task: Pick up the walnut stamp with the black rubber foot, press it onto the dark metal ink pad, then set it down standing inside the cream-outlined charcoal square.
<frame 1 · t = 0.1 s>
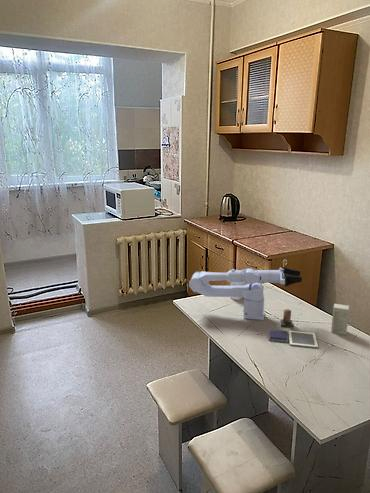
hand: (300, 276, 167), 22 cm above the table, tool horizontal, fingers open, 7 cm apart
skincare box: (338, 332, 163), on the table
ink pad: (278, 337, 158), on the table
marked square: (302, 339, 156), on the table
stamp: (286, 324, 169), on the table
ink cartridge box: (237, 297, 198), on the table
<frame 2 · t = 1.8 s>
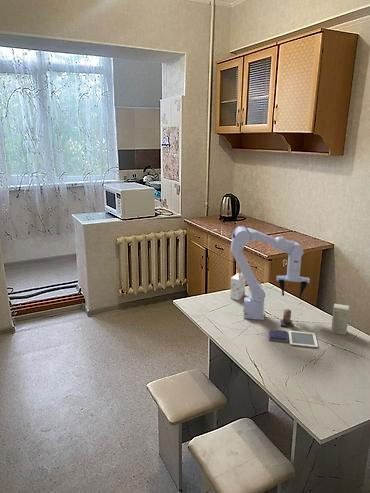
hand: (291, 295, 174), 10 cm above the table, tool pointing down, fingers open, 7 cm apart
nothing on the table moved.
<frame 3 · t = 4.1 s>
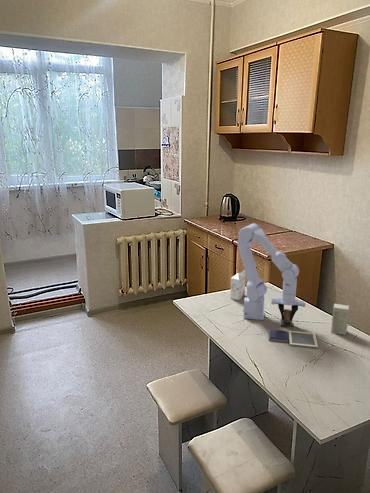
hand: (286, 319, 168), 3 cm above the table, tool pointing down, fingers closed on stamp, 3 cm apart
stamp: (286, 324, 169), on the table, touching gripper
everything else where it was.
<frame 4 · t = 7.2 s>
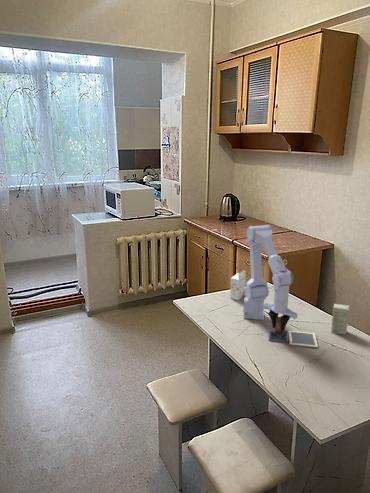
hand: (278, 328, 157), 4 cm above the table, tool pointing down, fingers closed on stamp, 3 cm apart
stamp: (278, 333, 158), point 2 cm above the table, touching gripper, ink pad
everything else where it was.
when the fingers open (4 cm above the table, at t = 10.5 s): stamp drops 1 cm, resting on marked square.
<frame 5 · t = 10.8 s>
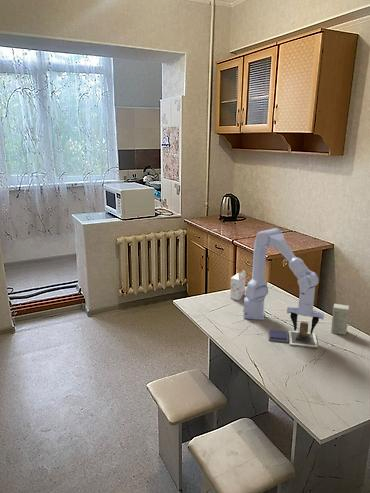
hand: (303, 331, 155), 4 cm above the table, tool pointing down, fingers open, 6 cm apart
stamp: (302, 338, 156), resting on marked square
everything else where it was.
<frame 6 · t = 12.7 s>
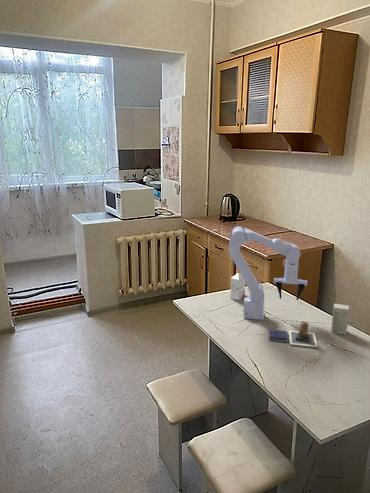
hand: (288, 298, 172), 10 cm above the table, tool pointing down, fingers open, 7 cm apart
nothing on the table moved.
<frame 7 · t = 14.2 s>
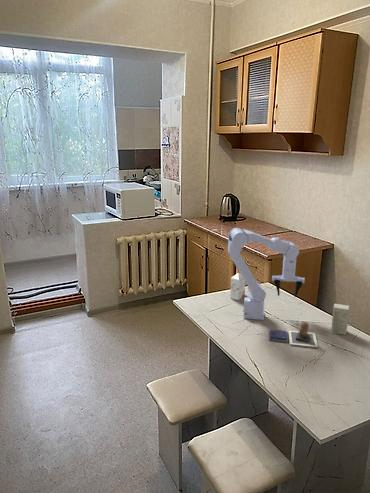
hand: (286, 295, 175), 10 cm above the table, tool pointing down, fingers open, 7 cm apart
nothing on the table moved.
at the end: stamp 0.2 cm off-centre on the marked square, point 0.5 cm above the marked square's base; stamp tilted 0°; the gripper is holding nothing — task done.
